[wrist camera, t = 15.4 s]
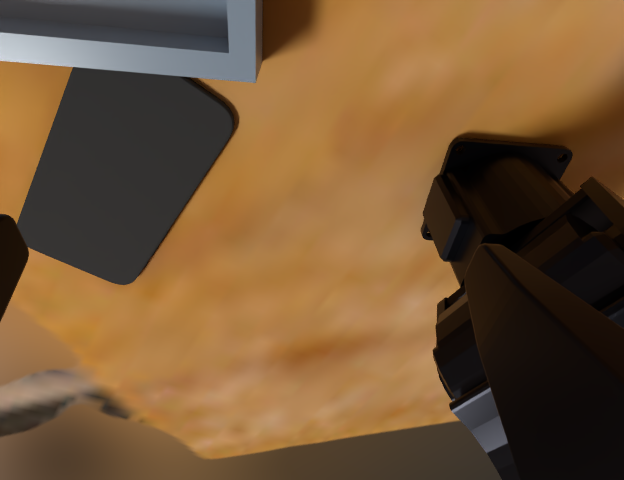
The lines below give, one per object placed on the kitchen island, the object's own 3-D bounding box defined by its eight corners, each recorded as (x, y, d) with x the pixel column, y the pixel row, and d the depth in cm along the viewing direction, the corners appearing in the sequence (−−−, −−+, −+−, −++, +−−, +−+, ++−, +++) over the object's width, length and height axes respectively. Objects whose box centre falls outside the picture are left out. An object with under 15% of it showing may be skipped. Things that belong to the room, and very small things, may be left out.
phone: (243, 119, 19) (129, 290, 26) (245, 112, 20) (133, 281, 27) (89, 14, 16) (9, 240, 23) (98, 11, 17) (17, 232, 24)
